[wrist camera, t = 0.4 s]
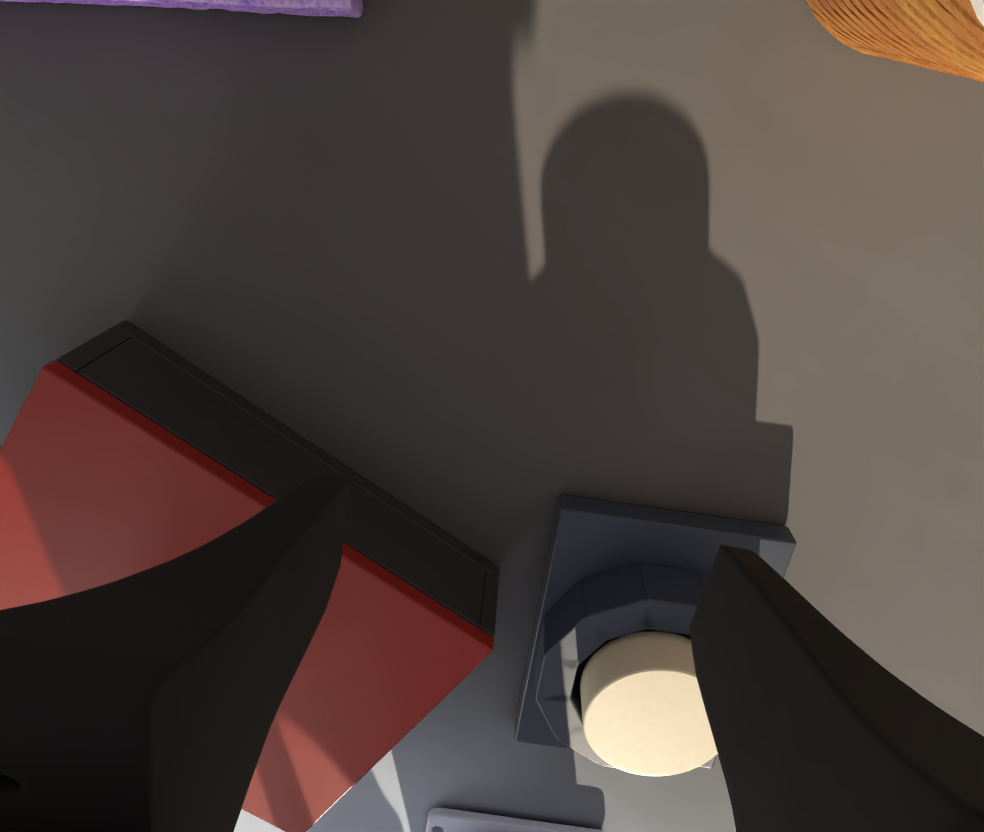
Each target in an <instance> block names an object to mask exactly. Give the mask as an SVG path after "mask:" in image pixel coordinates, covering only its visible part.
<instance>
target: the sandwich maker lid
mask: <svg viewBox="0 0 984 832" xmlns="http://www.w3.org/2000/svg"><path fill="white" fill-rule="evenodd" d="M275 501H277V500H276V499H274V498H273V497H271V496H269V495H268V494H266V493H265V492H263V491H262V490H260V489H258V488H257V487H255V486H254V485H252V484H251V483H249V482H247V481H246V480H244V479H243V478H241V477H240V476H238V475H236V474H235V473H233V472H232V471H230V470H228V469H227V468H225V467H224V466H222V465H221V464H219V463H217V462H216V461H214V460H213V459H211V458H210V457H208V456H206V455H205V454H203V453H202V452H200V451H199V450H197V449H195V448H194V447H192V446H191V445H189V444H188V443H186V442H184V441H183V440H181V439H180V438H178V437H176V436H175V435H173V434H172V433H170V432H169V431H167V430H165V429H164V428H162V427H161V426H159V425H158V424H156V423H154V422H153V421H151V420H150V419H148V418H147V417H145V416H143V415H142V414H140V413H139V412H137V411H136V410H134V409H132V408H131V407H129V406H128V405H126V404H124V403H123V402H121V401H120V400H118V399H117V398H115V397H113V396H112V395H110V394H109V393H107V392H106V391H104V390H102V389H101V388H99V387H98V386H96V385H95V384H93V383H91V382H90V381H88V380H87V379H85V378H84V377H82V376H80V375H79V374H77V373H76V372H74V371H72V370H71V369H69V368H68V367H66V366H65V365H63V364H61V363H60V362H58V361H56V360H54V361H53V362H51V363H49V364H47V365H46V366H44V367H43V368H42V370H41V372H40V373H39V375H38V377H37V379H36V381H35V383H34V385H33V387H32V389H31V391H30V393H29V395H28V397H27V399H26V401H25V403H24V405H23V407H22V408H21V410H20V412H19V414H18V416H17V418H16V420H15V422H14V424H13V426H12V428H11V430H10V432H9V434H8V436H7V438H6V440H5V441H4V443H3V445H2V447H1V449H0V610H3V609H8V608H13V607H18V606H23V605H28V604H33V603H38V602H42V601H47V600H51V599H55V598H59V597H63V596H66V595H70V594H74V593H78V592H81V591H85V590H88V589H92V588H95V587H98V586H101V585H105V584H108V583H111V582H114V581H117V580H120V579H123V578H125V577H128V576H131V575H133V574H136V573H139V572H141V571H144V570H147V569H150V568H152V567H155V566H158V565H160V564H163V563H165V562H168V561H170V560H172V559H175V558H177V557H179V556H181V555H183V554H185V553H188V552H190V551H192V550H194V549H196V548H198V547H200V546H202V545H204V544H206V543H208V542H210V541H212V540H214V539H216V538H218V537H219V536H221V535H223V534H224V533H226V532H228V531H230V530H231V529H233V528H235V527H236V526H238V525H240V524H242V523H243V522H245V521H247V520H248V519H250V518H251V517H253V516H254V515H256V514H257V513H259V512H260V511H262V510H263V509H265V508H266V507H268V506H269V505H271V504H272V503H274V502H275ZM493 644H494V638H493V637H492V636H490V635H489V634H487V633H485V632H484V631H482V630H481V629H479V628H478V627H476V626H474V625H473V624H471V623H470V622H468V621H466V620H465V619H463V618H462V617H460V616H459V615H457V614H455V613H454V612H452V611H451V610H449V609H448V608H446V607H444V606H443V605H441V604H440V603H438V602H437V601H435V600H433V599H432V598H430V597H429V596H427V595H425V594H424V593H422V592H421V591H419V590H418V589H416V588H414V587H413V586H411V585H410V584H408V583H407V582H405V581H403V580H402V579H400V578H399V577H397V576H396V575H394V574H392V573H391V572H389V571H388V570H386V569H385V568H383V567H381V566H380V565H378V564H377V563H375V562H373V561H372V560H370V559H369V558H367V557H366V556H364V555H362V554H361V553H359V552H358V551H356V550H355V549H353V548H351V547H350V546H348V545H347V544H345V543H344V542H343V549H342V558H341V565H340V569H339V572H338V575H337V578H336V581H335V584H334V587H333V590H332V593H331V596H330V599H329V602H328V605H327V608H326V610H325V612H324V615H323V617H322V619H321V621H320V623H319V625H318V627H317V629H316V631H315V634H314V636H313V638H312V640H311V642H310V644H309V646H308V648H307V650H306V652H305V654H304V656H303V658H302V661H301V663H300V665H299V667H298V669H297V671H296V673H295V675H294V677H293V679H292V681H291V683H290V685H289V687H288V689H287V692H286V694H285V696H284V698H283V700H282V702H281V704H280V706H279V708H278V711H277V713H276V715H275V718H274V720H273V722H272V725H271V727H270V730H269V732H268V735H267V738H266V741H265V743H264V746H263V749H262V752H261V755H260V757H259V760H258V763H257V766H256V768H255V771H254V774H253V777H252V780H251V782H250V785H249V788H248V791H247V794H246V797H245V800H244V803H243V805H242V808H241V809H243V810H245V811H247V812H249V813H251V814H253V815H254V816H256V817H258V818H260V819H262V820H264V821H266V822H268V823H270V824H272V825H274V826H276V827H278V828H279V829H281V830H283V831H285V832H306V831H307V830H308V829H309V828H310V827H311V826H312V825H313V824H314V823H316V822H317V821H318V820H319V819H320V818H321V817H322V816H323V815H324V814H325V813H326V812H327V811H328V810H329V809H330V808H331V807H332V806H333V805H334V804H335V803H336V802H337V801H338V800H339V799H340V798H341V797H342V796H343V795H344V794H345V793H346V792H347V791H349V790H350V789H351V788H352V787H353V786H354V785H355V784H356V783H357V782H358V781H359V780H360V779H361V778H362V777H363V776H364V775H365V774H366V773H367V772H368V771H369V770H370V769H371V768H372V767H373V766H374V765H375V764H376V763H377V762H378V761H379V760H380V759H382V758H383V757H384V756H385V755H386V754H387V753H388V752H389V751H390V750H391V749H392V748H393V747H394V746H395V745H396V744H397V743H398V742H399V741H400V740H401V739H402V738H403V737H404V736H405V735H406V734H407V733H408V732H409V731H410V730H411V729H412V728H413V727H415V726H416V725H417V724H418V723H419V722H420V721H421V720H422V719H423V718H424V717H425V716H426V715H427V714H428V713H429V712H430V711H431V710H432V709H433V708H434V707H435V706H436V705H437V704H438V703H439V702H440V701H441V700H442V699H443V698H444V697H445V696H446V695H448V694H449V693H450V692H451V691H452V690H453V689H454V688H455V687H456V686H457V685H458V684H459V683H460V682H461V681H462V680H463V679H464V678H465V677H466V676H467V675H468V674H469V673H470V672H471V671H472V670H473V669H474V668H475V667H476V666H477V665H478V664H479V663H481V662H482V661H483V660H484V659H485V658H486V657H487V656H488V655H489V654H490V653H491V652H492V651H493Z"/></svg>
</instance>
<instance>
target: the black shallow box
mask: <svg viewBox="0 0 984 832" xmlns="http://www.w3.org/2000/svg"><path fill="white" fill-rule="evenodd" d="M56 361H58V362H60V363H61V364H63V365H65V366H66V367H68V368H69V369H71V370H72V371H74V372H76V373H77V374H79V375H80V376H82V377H84V378H85V379H87V380H88V381H90V382H91V383H93V384H95V385H96V386H98V387H99V388H101V389H102V390H104V391H106V392H107V393H109V394H110V395H112V396H113V397H115V398H117V399H118V400H120V401H121V402H123V403H124V404H126V405H128V406H129V407H131V408H132V409H134V410H136V411H137V412H139V413H140V414H142V415H143V416H145V417H147V418H148V419H150V420H151V421H153V422H154V423H156V424H158V425H159V426H161V427H162V428H164V429H165V430H167V431H169V432H170V433H172V434H173V435H175V436H176V437H178V438H180V439H181V440H183V441H184V442H186V443H188V444H189V445H191V446H192V447H194V448H195V449H197V450H199V451H200V452H202V453H203V454H205V455H206V456H208V457H210V458H211V459H213V460H214V461H216V462H217V463H219V464H221V465H222V466H224V467H225V468H227V469H228V470H230V471H232V472H233V473H235V474H236V475H238V476H240V477H241V478H243V479H244V480H246V481H247V482H249V483H251V484H252V485H254V486H255V487H257V488H258V489H260V490H262V491H263V492H265V493H266V494H268V495H269V496H271V497H273V498H274V499H276V500H278V499H280V498H281V497H282V496H284V495H285V494H287V493H288V492H289V491H291V490H292V489H294V488H295V487H296V486H298V485H299V484H301V483H302V482H303V481H305V480H306V479H308V478H309V477H311V476H312V475H314V474H315V473H317V472H318V471H320V472H325V473H331V474H336V475H342V476H347V477H350V483H349V493H348V502H347V511H346V521H345V530H344V540H343V542H344V543H345V544H347V545H348V546H350V547H351V548H353V549H355V550H356V551H358V552H359V553H361V554H362V555H364V556H366V557H367V558H369V559H370V560H372V561H373V562H375V563H377V564H378V565H380V566H381V567H383V568H385V569H386V570H388V571H389V572H391V573H392V574H394V575H396V576H397V577H399V578H400V579H402V580H403V581H405V582H407V583H408V584H410V585H411V586H413V587H414V588H416V589H418V590H419V591H421V592H422V593H424V594H425V595H427V596H429V597H430V598H432V599H433V600H435V601H437V602H438V603H440V604H441V605H443V606H444V607H446V608H448V609H449V610H451V611H452V612H454V613H455V614H457V615H459V616H460V617H462V618H463V619H465V620H466V621H468V622H470V623H471V624H473V625H474V626H476V627H478V628H479V629H481V630H482V631H484V632H485V633H487V634H489V635H490V636H492V637H494V632H495V619H496V606H497V593H498V577H499V568H498V567H497V566H495V565H494V564H492V563H491V562H489V561H488V560H486V559H485V558H483V557H482V556H480V555H479V554H477V553H476V552H474V551H473V550H471V549H470V548H468V547H467V546H465V545H464V544H462V543H461V542H459V541H458V540H456V539H455V538H453V537H452V536H450V535H449V534H447V533H445V532H444V531H442V530H441V529H439V528H438V527H436V526H435V525H433V524H432V523H430V522H429V521H427V520H426V519H424V518H423V517H421V516H420V515H418V514H417V513H415V512H414V511H412V510H411V509H409V508H408V507H406V506H405V505H403V504H402V503H400V502H399V501H397V500H396V499H394V498H393V497H391V496H390V495H388V494H387V493H385V492H384V491H382V490H381V489H379V488H378V487H376V486H375V485H373V484H372V483H370V482H368V481H367V480H365V479H364V478H362V477H361V476H359V475H358V474H356V473H355V472H353V471H352V470H350V469H349V468H347V467H346V466H344V465H343V464H341V463H340V462H338V461H337V460H335V459H334V458H332V457H331V456H329V455H328V454H326V453H325V452H323V451H322V450H320V449H319V448H317V447H316V446H314V445H313V444H311V443H310V442H308V441H307V440H305V439H304V438H302V437H301V436H299V435H298V434H296V433H294V432H293V431H291V430H290V429H288V428H287V427H285V426H284V425H282V424H281V423H279V422H278V421H276V420H275V419H273V418H272V417H270V416H269V415H267V414H266V413H264V412H263V411H261V410H260V409H258V408H257V407H255V406H254V405H252V404H251V403H249V402H248V401H246V400H245V399H243V398H242V397H240V396H239V395H237V394H236V393H234V392H233V391H231V390H230V389H228V388H227V387H225V386H224V385H222V384H221V383H219V382H217V381H216V380H214V379H213V378H211V377H210V376H208V375H207V374H205V373H204V372H202V371H201V370H199V369H198V368H196V367H195V366H193V365H192V364H190V363H189V362H187V361H186V360H184V359H183V358H181V357H180V356H178V355H177V354H175V353H174V352H172V351H171V350H169V349H168V348H166V347H165V346H163V345H162V344H160V343H159V342H157V341H156V340H154V339H153V338H151V337H150V336H148V335H147V334H145V333H143V332H142V331H140V330H139V329H137V328H136V327H134V326H133V325H131V324H130V323H128V322H127V321H123V322H121V323H120V324H118V325H116V326H114V327H112V328H110V329H109V330H107V331H105V332H103V333H102V334H100V335H98V336H96V337H94V338H93V339H91V340H89V341H87V342H86V343H84V344H82V345H80V346H79V347H77V348H75V349H73V350H72V351H70V352H68V353H66V354H65V355H63V356H61V357H59V358H58V359H57V360H56Z"/></svg>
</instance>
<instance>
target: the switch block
mask: <svg viewBox="0 0 984 832" xmlns="http://www.w3.org/2000/svg"><path fill="white" fill-rule="evenodd" d="M720 545H726V546H732V547H737V548H743V549H748V550H752V551H753V552H755V553H756V554H757V555H758V556H760V557H761V558H762V559H763V560H764V561H765V562H767V563H768V564H769V565H770V566H771V567H772V568H773V569H774V570H775V571H776V572H777V573H778V574H780V575H781V576H782V577H783V578H784V575H785V572H786V570H787V567H788V564H789V562H790V559H791V556H792V554H793V551H794V548H795V546H796V541H795V539H794V537H793V535H792V534H791V532H790V530H789V528H788V527H786V526H779V525H772V524H765V523H757V522H750V521H743V520H736V519H729V518H722V517H715V516H708V515H701V514H693V513H686V512H679V511H672V510H665V509H658V508H651V507H644V506H637V505H629V504H622V503H615V502H608V501H601V500H594V499H587V498H580V497H573V496H565V495H561V496H560V497H559V501H558V507H557V512H556V517H555V522H554V527H553V532H552V537H551V542H550V547H549V552H548V557H547V562H546V567H545V572H544V577H543V582H542V587H541V593H540V598H539V603H538V608H537V613H536V618H535V623H534V628H533V633H532V638H531V643H530V648H529V653H528V658H527V663H526V668H525V674H524V679H523V684H522V689H521V694H520V699H519V704H518V709H517V714H516V719H515V736H514V738H515V741H520V742H527V743H534V744H541V745H548V746H555V747H563V748H570V749H573V750H575V751H577V752H578V753H580V754H581V755H583V756H585V757H586V758H588V759H590V760H591V761H593V762H595V763H596V764H598V765H601V766H606V767H613V768H615V767H614V766H612V765H610V764H608V763H607V762H605V761H604V760H602V759H601V758H600V757H599V756H598V755H597V754H596V753H595V752H594V751H593V749H592V748H591V747H590V745H589V743H588V742H587V739H586V737H585V734H584V729H583V720H582V706H581V693H580V681H581V676H582V673H583V670H584V668H585V666H586V664H587V662H588V661H589V659H590V658H591V657H592V656H593V655H594V654H595V653H596V652H597V651H598V650H599V649H600V648H601V647H603V646H604V645H606V644H607V643H609V642H611V641H612V640H615V639H617V638H619V637H622V636H625V635H628V634H632V633H637V632H645V631H661V632H669V633H674V634H678V635H681V636H684V637H686V638H688V639H691V636H690V624H691V621H692V619H693V616H694V613H695V611H696V608H697V605H698V603H699V600H700V598H701V595H702V592H703V590H704V587H705V584H706V582H707V579H708V576H709V574H710V571H711V568H712V566H713V563H714V560H715V558H716V555H717V552H718V550H719V547H720ZM717 756H718V754H717V755H715V756H714V757H713V758H712V759H711V760H709V761H708V762H706V763H705V764H703V765H701V766H699V767H706V768H712V767H713V765H714V762H715V759H716V757H717Z"/></svg>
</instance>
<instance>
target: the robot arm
mask: <svg viewBox="0 0 984 832" xmlns="http://www.w3.org/2000/svg"><path fill="white" fill-rule="evenodd" d="M349 483H350V477H347V476H342V475H336V474H331V473H325V472H320V471H318V472H317V473H315V474H314V475H312V476H311V477H309V478H308V479H306V480H305V481H303V482H302V483H301V484H299V485H298V486H296V487H295V488H294V489H292V490H291V491H289V492H288V493H287V494H285V495H284V496H282V497H281V498H280V499H278V500H277V501H275V502H274V503H272V504H271V505H269V506H268V507H266V508H265V509H263V510H262V511H260V512H259V513H257V514H256V515H254V516H253V517H251V518H250V519H248V520H247V521H245V522H243V523H242V524H240V525H238V526H236V527H235V528H233V529H231V530H230V531H228V532H226V533H224V534H223V535H221V536H219V537H218V538H216V539H214V540H212V541H210V542H208V543H206V544H204V545H202V546H200V547H198V548H196V549H194V550H192V551H190V552H188V553H185V554H183V555H181V556H179V557H177V558H175V559H172V560H170V561H168V562H165V563H163V564H160V565H158V566H155V567H152V568H150V569H147V570H144V571H141V572H139V573H136V574H133V575H131V576H128V577H125V578H123V579H120V580H117V581H114V582H111V583H108V584H105V585H101V586H98V587H95V588H92V589H88V590H85V591H81V592H78V593H74V594H70V595H66V596H63V597H59V598H55V599H51V600H47V601H42V602H38V603H33V604H28V605H23V606H18V607H13V608H8V609H3V610H0V832H233V831H234V828H235V826H236V823H237V820H238V817H239V814H240V811H241V808H242V805H243V803H244V800H245V797H246V794H247V791H248V788H249V785H250V782H251V780H252V777H253V774H254V771H255V768H256V766H257V763H258V760H259V757H260V755H261V752H262V749H263V746H264V743H265V741H266V738H267V735H268V732H269V730H270V727H271V725H272V722H273V720H274V718H275V715H276V713H277V711H278V708H279V706H280V704H281V702H282V700H283V698H284V696H285V694H286V692H287V689H288V687H289V685H290V683H291V681H292V679H293V677H294V675H295V673H296V671H297V669H298V667H299V665H300V663H301V661H302V658H303V656H304V654H305V652H306V650H307V648H308V646H309V644H310V642H311V640H312V638H313V636H314V634H315V631H316V629H317V627H318V625H319V623H320V621H321V619H322V617H323V615H324V612H325V610H326V608H327V605H328V602H329V599H330V596H331V593H332V590H333V587H334V584H335V581H336V578H337V575H338V572H339V569H340V565H341V558H342V549H343V540H344V530H345V521H346V511H347V502H348V493H349ZM690 636H691V644H692V653H693V660H694V666H695V673H696V677H697V681H698V685H699V689H700V692H701V696H702V700H703V703H704V707H705V710H706V714H707V717H708V721H709V724H710V728H711V731H712V735H713V738H714V742H715V745H716V749H717V752H718V756H719V759H720V763H721V766H722V770H723V773H724V777H725V780H726V784H727V788H728V792H729V796H730V800H731V805H732V809H733V815H734V820H735V826H736V832H984V737H983V736H982V735H980V734H979V733H977V732H975V731H974V730H972V729H971V728H969V727H968V726H966V725H964V724H963V723H961V722H960V721H958V720H957V719H955V718H954V717H952V716H950V715H949V714H947V713H946V712H944V711H943V710H941V709H940V708H938V707H937V706H935V705H934V704H932V703H931V702H930V701H928V700H927V699H925V698H924V697H922V696H921V695H920V694H918V693H917V692H916V691H914V690H913V689H912V688H910V687H909V686H908V685H906V684H905V683H903V682H902V681H901V680H899V679H898V678H897V677H895V676H894V675H893V674H891V673H890V672H889V671H887V670H886V669H885V668H884V667H882V666H881V665H880V664H879V663H877V662H876V661H875V660H874V659H872V658H871V657H870V656H869V655H868V654H866V653H865V652H864V651H863V650H862V649H860V648H859V647H858V646H857V645H856V644H855V643H853V642H852V641H851V640H850V639H849V638H847V637H846V636H845V635H844V634H843V633H842V632H841V631H840V630H838V629H837V628H836V627H835V626H834V625H833V624H832V623H831V622H830V621H828V620H827V619H826V618H825V617H824V616H823V615H822V614H821V613H820V612H819V611H818V610H817V609H815V608H814V607H813V606H812V605H811V604H810V603H809V602H808V601H807V600H806V599H805V598H804V597H803V596H802V595H801V594H800V593H798V592H797V591H796V590H795V589H794V588H793V587H792V586H791V585H790V584H789V583H788V582H787V581H786V580H785V579H784V578H783V577H782V576H781V575H780V574H778V573H777V572H776V571H775V570H774V569H773V568H772V567H771V566H770V565H769V564H768V563H767V562H765V561H764V560H763V559H762V558H761V557H760V556H758V555H757V554H756V553H755V552H753V551H752V550H748V549H743V548H737V547H732V546H726V545H720V547H719V550H718V552H717V555H716V558H715V560H714V563H713V566H712V568H711V571H710V574H709V576H708V579H707V582H706V584H705V587H704V590H703V592H702V595H701V598H700V600H699V603H698V605H697V608H696V611H695V613H694V616H693V619H692V621H691V624H690ZM426 832H603V831H602V830H598V829H591V828H584V827H577V826H570V825H563V824H555V823H548V822H541V821H534V820H527V819H519V818H512V817H505V816H498V815H491V814H483V813H476V812H469V811H462V810H455V809H447V808H433V809H432V810H430V811H429V814H428V820H427V827H426Z"/></svg>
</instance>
